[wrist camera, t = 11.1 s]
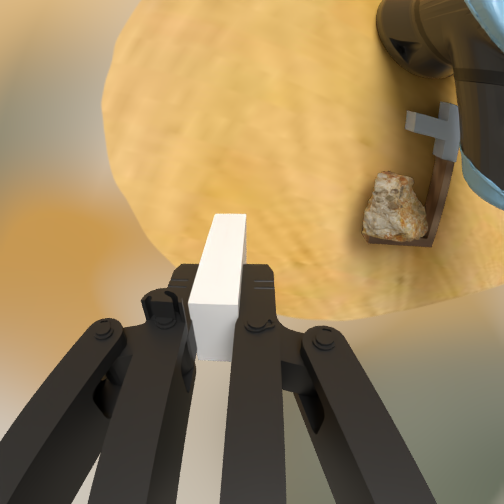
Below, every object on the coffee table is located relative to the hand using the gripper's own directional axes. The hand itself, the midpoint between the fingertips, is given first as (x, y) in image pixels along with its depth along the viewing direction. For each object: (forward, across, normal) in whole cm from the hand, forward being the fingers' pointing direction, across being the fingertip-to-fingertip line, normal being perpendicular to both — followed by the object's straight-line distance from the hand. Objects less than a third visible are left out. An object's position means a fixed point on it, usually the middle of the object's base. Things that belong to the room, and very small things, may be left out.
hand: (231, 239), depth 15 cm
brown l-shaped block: (+29, +25, -7) cm, 39 cm away
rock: (+29, +22, -8) cm, 37 cm away
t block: (+29, +28, +5) cm, 40 cm away
